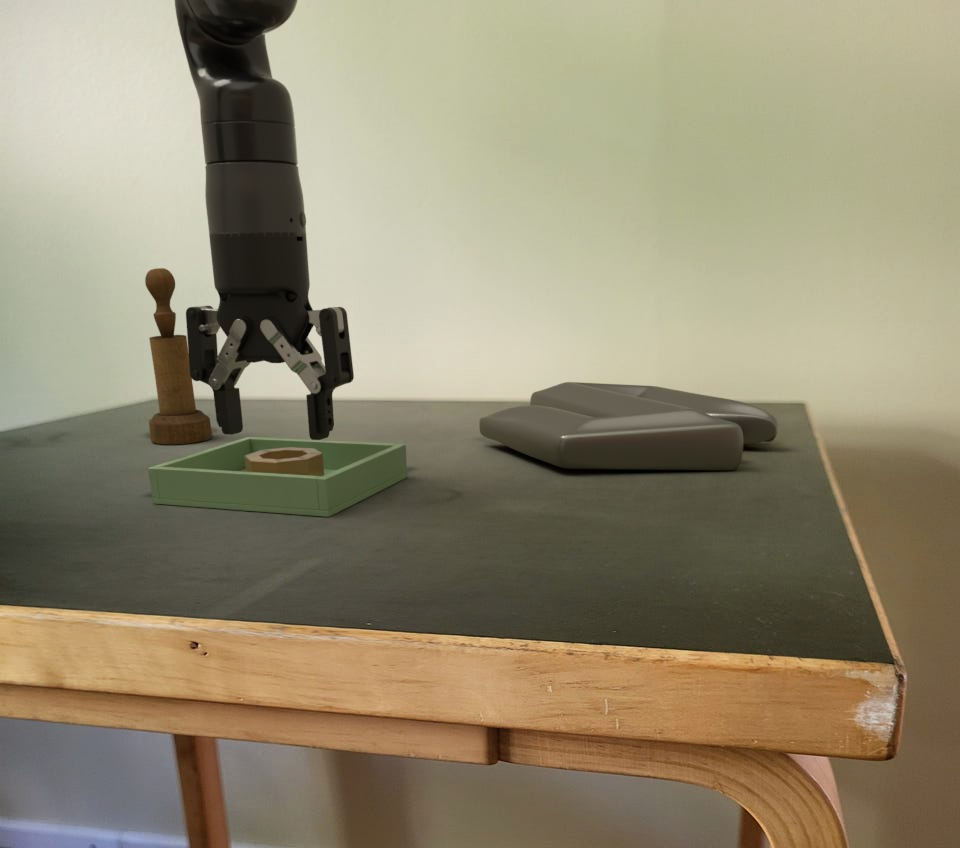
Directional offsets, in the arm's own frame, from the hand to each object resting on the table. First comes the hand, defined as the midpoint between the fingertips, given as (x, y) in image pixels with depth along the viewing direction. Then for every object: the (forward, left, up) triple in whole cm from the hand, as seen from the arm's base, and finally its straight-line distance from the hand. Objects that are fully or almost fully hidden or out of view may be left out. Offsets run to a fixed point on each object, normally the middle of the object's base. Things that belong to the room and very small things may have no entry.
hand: (275, 435), depth 82 cm
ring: (+1, 0, -4) cm, 4 cm away
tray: (0, 0, -5) cm, 5 cm away
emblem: (+24, +25, -5) cm, 35 cm away
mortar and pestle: (-25, +19, -5) cm, 31 cm away
